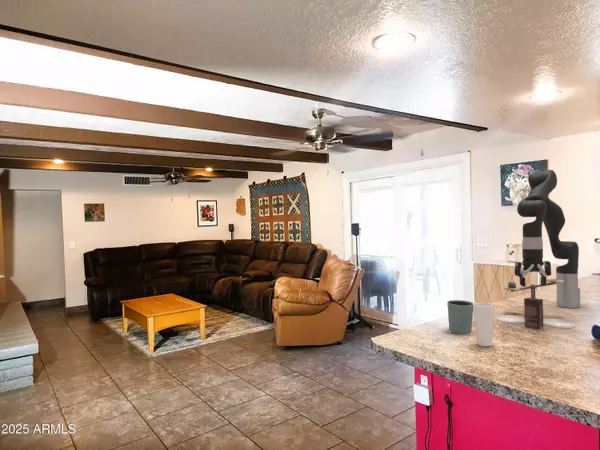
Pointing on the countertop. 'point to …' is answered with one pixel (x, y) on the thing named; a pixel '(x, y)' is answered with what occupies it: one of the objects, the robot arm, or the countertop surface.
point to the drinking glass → (484, 323)
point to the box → (533, 312)
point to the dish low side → (510, 319)
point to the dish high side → (558, 323)
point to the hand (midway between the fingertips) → (533, 286)
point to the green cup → (460, 316)
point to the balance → (531, 287)
